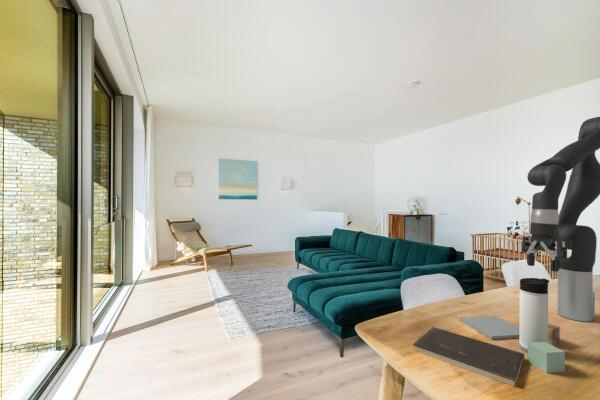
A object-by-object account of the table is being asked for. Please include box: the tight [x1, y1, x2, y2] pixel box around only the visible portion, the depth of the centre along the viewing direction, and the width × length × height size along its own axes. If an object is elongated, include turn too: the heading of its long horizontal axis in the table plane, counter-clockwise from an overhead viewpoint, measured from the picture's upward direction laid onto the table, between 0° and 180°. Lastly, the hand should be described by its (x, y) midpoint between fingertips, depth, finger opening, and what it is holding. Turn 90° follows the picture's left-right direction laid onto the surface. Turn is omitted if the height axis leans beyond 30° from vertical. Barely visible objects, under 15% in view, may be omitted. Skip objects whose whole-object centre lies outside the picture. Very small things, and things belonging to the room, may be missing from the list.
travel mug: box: [518, 277, 550, 353], centre depth 80 cm, size 6×7×20 cm
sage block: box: [527, 342, 566, 374], centre depth 73 cm, size 5×5×5 cm
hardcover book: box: [412, 326, 525, 387], centre depth 78 cm, size 16×23×2 cm
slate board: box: [459, 315, 519, 340], centre depth 94 cm, size 14×14×1 cm
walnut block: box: [548, 322, 561, 347], centre depth 86 cm, size 5×5×5 cm
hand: (542, 268), depth 101 cm, fingers open, 8 cm apart
